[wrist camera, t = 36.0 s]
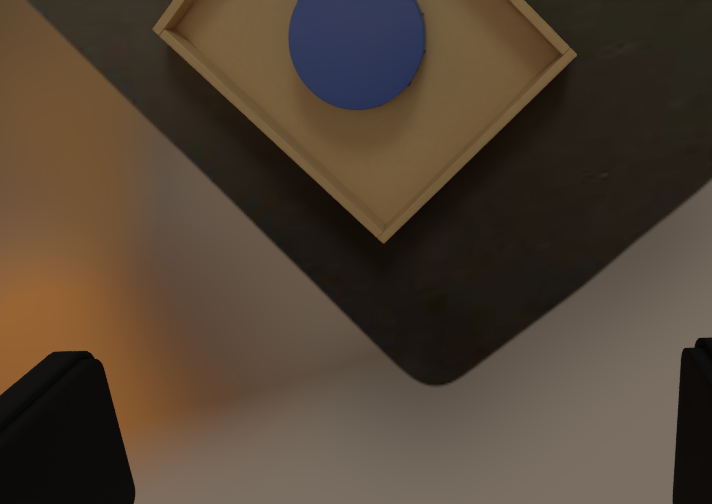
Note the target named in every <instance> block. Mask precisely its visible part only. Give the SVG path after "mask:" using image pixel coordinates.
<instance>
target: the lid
mask: <svg viewBox="0 0 712 504" xmlns="http://www.w3.org/2000/svg"><path fill="white" fill-rule="evenodd" d="M423 15H425V14H424V13H422V11H421V8H420V6H419V4H418V2H417V0H298V1H297V3H296V6H295V8H294V10H293V13H292V16H291V19H290V25H289V35H288V40H289V50H290V55H291V59H292V62H293V65H294V67H295V69H296V71H297V73H298V75H299V77H300V78H301V80H302V81H303V83H304V84H305V85H306V86H307V88H308V89H309V90H310V91H311V92H312V93H314V94H315V95H316V96H317V97H319V98H320V99H322V100H323V101H325V102H327V103H329V104H331V105H334V106H336V107H340V108H343V109H350V110H364V109H371V108H374V107H378V106H379V107H380V106H382V105H383V104H385V103H387V102H389V101H390V100H392V99H394V98H395V97H396V96H397V95H399V94H400V93H401V92H402V91H403V90H404V89H405V88H406V87H407V86H408V87H409V86H410V84H411V83H412V82H411V80H412V79H413V78H414V76H415V75H416V73H417V71H418V70H419V68H420V65H421V63H422V60H423V57H424V53H426V51H427V50H426V49H425V48H426V25H425V20H424V16H423Z"/></svg>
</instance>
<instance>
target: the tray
mask: <svg viewBox="0 0 712 504" xmlns="http://www.w3.org/2000/svg"><path fill="white" fill-rule="evenodd" d="M297 1H298V0H173V1H172V3H171V4H170V5H169V7H168V8H167V9H166V11H165V12H164V14H163V15H162V16H161V18H160V19H159V21H158V22H157V23H156V25H155V26H154V28H153V31H154V32H155V33H156V34H158V35H159V36H160V37H161V38H162V39H163V40H164V41H165V42H166V43H167V44H168V45H169V46H170V47H172V48H173V49H174V50H175V51H176V52H177V53H178V54H179V55H180V56H181V57H182V58H183V59H185V60H186V61H187V62H188V63H189V64H190V65H191V66H192V67H193V68H194V69H195V70H196V71H197V72H199V73H200V74H201V75H202V76H203V77H204V78H205V79H206V80H207V81H208V82H209V83H210V84H211V85H213V86H214V87H215V88H216V89H217V90H218V91H219V92H220V93H221V94H222V95H223V96H224V97H226V98H227V99H228V100H229V101H230V102H231V103H232V104H233V105H234V106H235V107H236V108H237V109H238V110H240V111H241V112H242V113H243V114H244V115H245V116H246V117H247V118H248V119H249V120H250V121H251V122H253V123H254V124H255V125H256V126H257V127H258V128H259V129H260V130H261V131H262V132H263V133H264V134H265V135H267V136H268V137H269V138H270V139H271V140H272V141H273V142H274V143H275V144H276V145H277V146H278V147H279V148H281V149H282V150H283V151H284V152H285V153H286V154H287V155H288V156H289V157H290V158H291V159H292V160H294V161H295V162H296V163H297V164H298V165H299V166H300V167H301V168H302V169H303V170H304V171H305V172H306V173H308V174H309V175H310V176H311V177H312V178H313V179H314V180H315V181H316V182H317V183H318V184H319V185H321V186H322V187H323V188H324V189H325V190H326V191H327V192H328V193H329V194H330V195H331V196H332V197H333V198H335V199H336V200H337V201H338V202H339V203H340V204H341V205H342V206H343V207H344V208H345V209H346V210H347V211H349V212H350V213H351V214H352V215H353V216H354V217H355V218H356V219H357V220H358V221H359V222H360V223H362V224H363V225H364V226H365V227H366V228H367V229H368V230H369V231H370V232H371V233H372V234H373V235H374V236H376V237H377V238H378V239H379V240H380V241H381V242H382V243H383V244H384V243H385V242H386V241H387V240H388V239H389V238H390V237H391V236H393V235H394V234H395V233H396V232H397V231H398V230H399V229H400V228H401V227H402V226H403V225H404V224H405V223H406V222H407V221H408V220H409V219H410V218H411V217H412V216H413V215H414V214H415V213H416V212H417V211H418V210H419V209H420V208H421V207H422V206H423V205H424V204H425V203H426V202H427V201H428V200H429V199H430V198H431V197H433V196H434V195H435V194H436V193H437V192H438V191H439V190H440V189H441V188H442V187H443V186H444V185H445V184H446V183H447V182H448V181H449V180H450V179H451V178H452V177H453V176H454V175H455V174H456V173H457V172H458V171H459V170H460V169H461V168H462V167H463V166H464V165H465V164H466V163H467V162H468V161H469V160H470V159H472V158H473V157H474V156H475V155H476V154H477V153H478V152H479V151H480V150H481V149H482V148H483V147H484V146H485V145H486V144H487V143H488V142H489V141H490V140H491V139H492V138H493V137H494V136H495V135H496V134H497V133H498V132H499V131H500V130H501V129H502V128H503V127H504V126H505V125H506V124H507V123H508V122H509V121H510V120H512V119H513V118H514V117H515V116H516V115H517V114H518V113H519V112H520V111H521V110H522V109H523V108H524V107H525V106H526V105H527V104H528V103H529V102H530V101H531V100H532V99H533V98H534V97H535V96H536V95H537V94H538V93H539V92H540V91H541V90H542V89H543V88H544V87H545V86H546V85H547V84H548V83H549V82H551V81H552V80H553V79H554V78H555V77H556V76H557V75H558V74H559V73H560V72H561V71H562V70H563V69H564V68H565V67H566V66H567V65H568V64H569V63H570V62H571V61H572V60H573V59H574V58H575V57H576V56H577V54H576V53H575V52H574V51H573V50H572V49H571V48H570V47H569V46H568V45H567V44H566V43H565V42H564V41H563V40H562V38H561V37H560V36H559V35H558V34H557V33H556V32H555V31H554V30H553V29H552V28H551V27H550V26H549V25H548V24H547V23H546V22H545V21H544V20H543V19H542V18H541V17H540V16H539V15H538V14H537V13H536V12H535V11H534V10H533V9H532V8H531V7H530V6H529V5H528V4H527V3H526V2H525V0H417V2H418V4H419V6H420V8H421V11H422V13H424V14H425V15H423V16H424V20H425V25H426V48H425V49H426V50H427V51H426V53H424V57H423V60H422V63H421V65H420V68H419V70H418V71H417V73H416V75H415V76H414V78H413V79H412V80H411V82H412V83H411V84H410V86H409V87H408V86H407V87H406V88H405V89H404V90H403V91H402V92H401V93H400V94H399V95H397V96H396V97H395V98H394V99H392V100H390V101H389V102H387V103H385V104H383V105H382V106H380V107H379V106H378V107H374V108H371V109H364V110H350V109H343V108H340V107H336V106H334V105H331V104H329V103H327V102H325V101H323V100H322V99H320V98H319V97H317V96H316V95H315V94H314V93H312V92H311V91H310V90H309V89H308V88H307V86H306V85H305V84H304V83H303V81H302V80H301V78H300V77H299V75H298V73H297V71H296V69H295V67H294V65H293V62H292V59H291V55H290V50H289V40H288V35H289V25H290V19H291V16H292V13H293V10H294V8H295V6H296V3H297Z"/></svg>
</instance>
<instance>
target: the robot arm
mask: <svg viewBox="0 0 712 504" xmlns="http://www.w3.org/2000/svg"><path fill="white" fill-rule="evenodd" d="M134 500H135V486H134V482H133V478H132V474H131V470H130V467H129V463H128V459H127V455H126V451H125V448H124V444H123V440H122V436H121V432H120V428H119V424H118V420H117V417H116V413H115V409H114V405H113V402H112V398H111V394H110V390H109V386H108V382H107V378H106V374H105V371H104V367H103V365H102V363H101V362H100V361H99V360H97V359H94V357H93V355H92V354H91V353H89V352H88V351H61V352H53V353H51V354H50V355H48V356H47V357H46V358H45V359H44V360H42V361H41V362H40V363H39V364H37V365H36V366H35V367H34V368H33V369H31V370H30V371H29V372H28V373H27V374H25V375H24V376H23V377H22V378H21V379H19V380H18V381H17V382H16V383H15V384H13V385H12V386H11V387H10V388H9V389H7V390H6V391H5V392H4V393H3V394H1V395H0V504H134ZM673 504H712V338H698V340H697V341H696V343H695V347H694V348H685V349H683V352H682V356H681V369H680V386H679V404H678V418H677V434H676V451H675V468H674V483H673Z"/></svg>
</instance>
